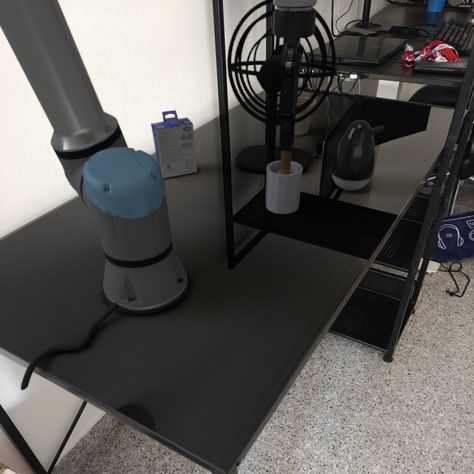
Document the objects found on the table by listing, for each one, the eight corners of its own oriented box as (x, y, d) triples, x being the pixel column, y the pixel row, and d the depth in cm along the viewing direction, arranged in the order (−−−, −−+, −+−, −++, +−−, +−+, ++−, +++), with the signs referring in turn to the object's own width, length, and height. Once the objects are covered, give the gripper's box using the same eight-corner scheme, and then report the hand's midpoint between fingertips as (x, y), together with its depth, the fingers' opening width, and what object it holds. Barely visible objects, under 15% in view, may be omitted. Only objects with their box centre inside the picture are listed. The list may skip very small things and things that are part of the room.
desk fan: (327, 152, 122) (348, -6, 97) (319, 179, 110) (341, 6, 85) (235, 145, 127) (232, -8, 102) (218, 170, 115) (211, 3, 90)
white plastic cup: (279, 217, 97) (281, 178, 91) (259, 204, 102) (260, 166, 95) (305, 207, 100) (309, 169, 94) (284, 194, 105) (287, 157, 98)
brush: (282, 197, 97) (288, 99, 82) (271, 191, 99) (275, 94, 85) (296, 192, 98) (304, 95, 84) (285, 186, 101) (291, 90, 86)
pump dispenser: (371, 197, 103) (386, 130, 92) (327, 193, 105) (337, 127, 94) (371, 178, 110) (384, 114, 99) (330, 175, 112) (339, 111, 101)
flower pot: (277, 128, 136) (279, 98, 129) (305, 125, 137) (308, 94, 131) (289, 139, 129) (291, 108, 123) (317, 135, 131) (321, 104, 125)
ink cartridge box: (192, 164, 118) (186, 106, 107) (198, 172, 114) (193, 113, 104) (157, 171, 115) (148, 112, 105) (162, 179, 112) (153, 119, 101)
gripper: (313, 16, 69) (301, 163, 86) (319, 0, 79) (306, 135, 96) (267, 15, 70) (263, 161, 87) (278, 0, 80) (273, 133, 97)
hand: (286, 147), depth 92 cm, fingers closed on brush, 2 cm apart
